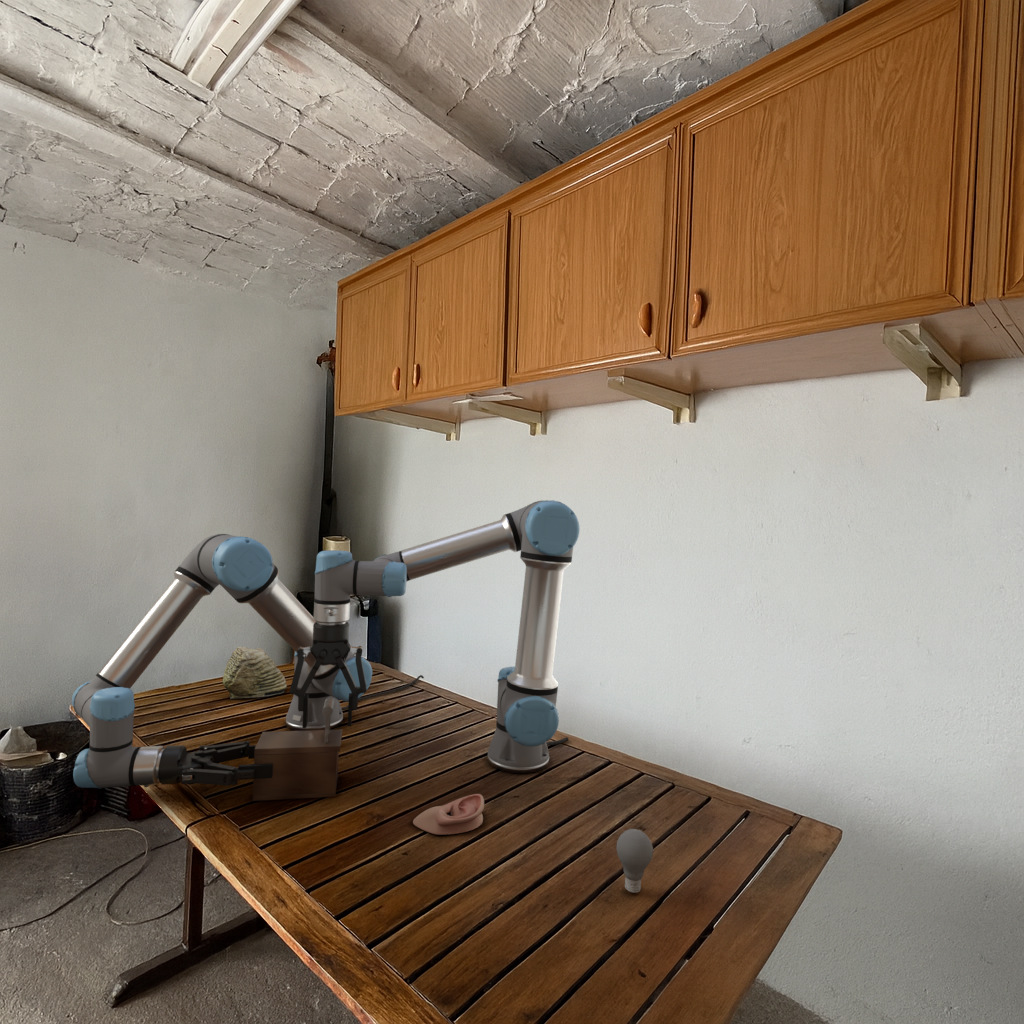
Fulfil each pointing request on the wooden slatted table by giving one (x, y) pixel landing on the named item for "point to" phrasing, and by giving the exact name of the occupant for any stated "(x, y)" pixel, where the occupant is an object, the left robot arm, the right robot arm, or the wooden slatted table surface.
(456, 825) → the anatomical model
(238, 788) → the wooden slatted table surface
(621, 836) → the light bulb
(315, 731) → the lid
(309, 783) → the chest
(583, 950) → the wooden slatted table surface
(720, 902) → the wooden slatted table surface
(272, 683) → the fossil
